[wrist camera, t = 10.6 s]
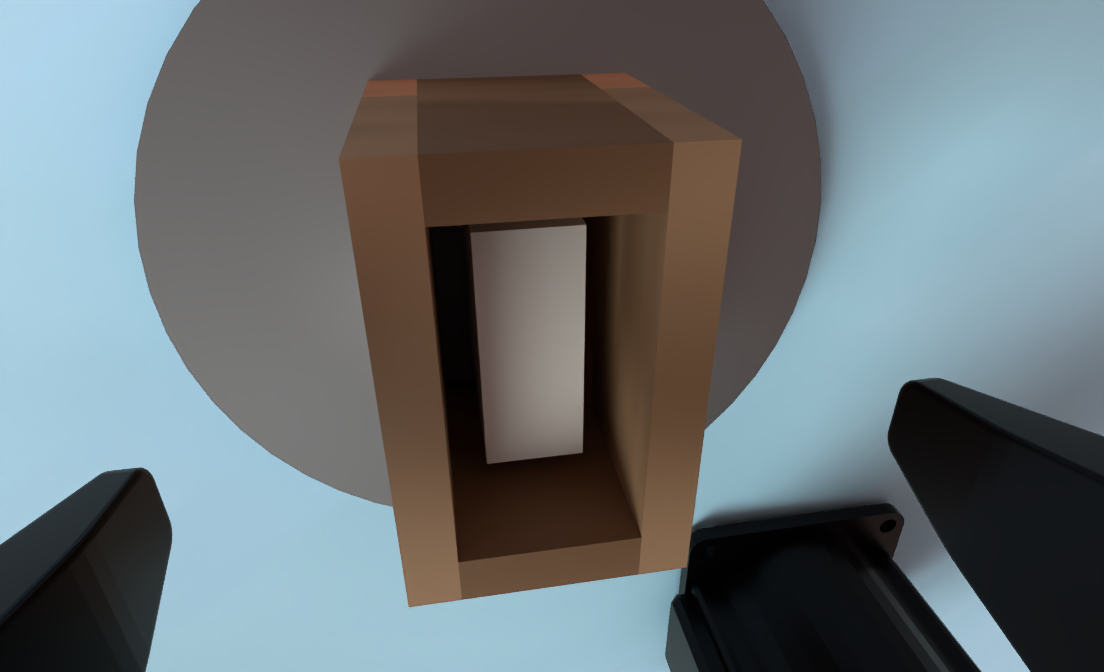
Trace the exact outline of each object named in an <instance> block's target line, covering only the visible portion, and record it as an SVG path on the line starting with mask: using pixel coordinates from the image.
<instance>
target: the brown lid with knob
mask: <svg viewBox="0 0 1104 672" xmlns="http://www.w3.org/2000/svg"><path fill="white" fill-rule="evenodd" d="M601 73H627V74H628V75H630V76H632V77H634V78H635V79H637V80H639V81H641V82H642V83H644V84H646V85H648V86H649V87H651V88H653V89H655V90H656V91H658V92H660V93H662V94H664V95H665V96H667V97H669V98H671V99H672V100H674V101H676V102H678V103H679V104H681V105H683V106H685V107H686V108H688V109H690V110H692V111H693V112H695V113H697V114H699V115H700V116H702V117H704V118H706V119H708V120H709V121H711V122H713V123H715V124H716V125H718V126H720V127H722V128H723V129H725V130H727V131H729V132H730V133H732V134H734V135H736V136H737V137H739V138H741V139H742V145H741V153H740V161H739V169H738V176H737V184H736V192H735V199H734V207H733V215H732V222H731V230H730V238H729V246H728V253H727V261H726V269H725V276H724V284H723V292H722V299H721V307H720V315H719V323H718V330H717V338H716V346H715V353H714V361H713V369H712V376H711V384H710V392H709V400H708V407H707V415H706V423H705V429H706V428H707V427H708V426H709V425H710V424H711V423H712V422H713V421H714V420H715V419H716V418H718V417H719V416H720V415H721V414H722V413H723V412H724V411H725V410H726V409H727V408H728V407H729V406H730V405H731V404H732V403H733V402H734V401H735V399H736V398H737V397H738V396H739V395H740V393H741V392H742V391H743V390H744V389H745V388H746V386H747V385H748V384H749V383H750V382H751V380H752V379H753V378H754V377H755V376H756V374H757V373H758V371H759V370H760V368H761V367H762V365H763V364H764V362H765V361H766V359H767V358H768V356H769V355H770V353H771V352H772V350H773V349H774V347H775V346H776V344H777V342H778V340H779V338H780V336H781V334H782V333H783V331H784V329H785V327H786V325H787V323H788V321H789V319H790V317H791V315H792V313H793V311H794V308H795V306H796V303H797V301H798V298H799V295H800V293H801V290H802V288H803V285H804V282H805V280H806V277H807V273H808V269H809V265H810V261H811V257H812V253H813V250H814V246H815V242H816V235H817V227H818V219H819V211H820V204H821V159H820V151H819V144H818V137H817V129H816V122H815V117H814V113H813V110H812V106H811V102H810V99H809V95H808V92H807V88H806V84H805V81H804V77H803V75H802V73H801V70H800V68H799V66H798V64H797V61H796V59H795V57H794V54H793V52H792V50H791V48H790V45H789V43H788V41H787V38H786V36H785V35H784V33H783V31H782V30H781V28H780V27H779V25H778V23H777V22H776V20H775V19H774V17H773V15H772V14H771V12H770V11H769V9H768V7H767V6H766V4H765V3H764V1H763V0H201V1H200V2H199V3H198V4H197V5H196V7H195V8H194V9H193V11H192V13H191V14H190V16H189V18H188V19H187V21H186V23H185V24H184V26H183V28H182V29H181V31H180V33H179V35H178V36H177V38H176V40H175V41H174V43H173V45H172V46H171V48H170V50H169V51H168V53H167V55H166V57H165V60H164V62H163V65H162V68H161V70H160V73H159V75H158V78H157V80H156V83H155V85H154V88H153V91H152V93H151V96H150V98H149V101H148V103H147V108H146V113H145V117H144V122H143V126H142V131H141V136H140V140H139V145H138V149H137V159H136V176H135V194H134V205H135V215H136V226H137V236H138V247H139V251H140V255H141V259H142V263H143V267H144V271H145V275H146V279H147V283H148V287H149V291H150V294H151V296H152V299H153V301H154V304H155V306H156V309H157V311H158V313H159V316H160V318H161V321H162V323H163V326H164V328H165V331H166V333H167V334H168V336H169V338H170V340H171V341H172V343H173V345H174V347H175V348H176V350H177V352H178V353H179V355H180V357H181V359H182V360H183V362H184V364H185V366H186V367H187V369H188V370H189V372H190V373H191V374H192V375H193V377H194V378H195V379H196V381H197V382H198V383H199V385H200V386H201V387H202V388H203V390H204V391H205V392H206V394H207V395H208V396H209V397H210V399H211V400H212V401H213V402H214V403H215V404H216V405H217V406H218V407H219V408H220V409H221V410H222V411H223V412H224V413H225V414H226V415H227V416H228V417H229V418H230V419H231V420H232V421H233V422H234V423H235V424H236V425H237V426H238V427H239V428H240V429H241V430H242V431H243V432H244V433H245V434H247V435H248V436H249V437H251V438H252V439H253V440H254V441H256V442H257V443H258V444H259V445H261V446H262V447H263V448H265V449H266V450H267V451H268V452H270V453H271V454H272V455H274V456H275V457H277V458H279V459H280V460H282V461H284V462H285V463H287V464H289V465H290V466H292V467H294V468H295V469H297V470H298V471H300V472H302V473H303V474H305V475H307V476H309V477H311V478H314V479H316V480H318V481H320V482H322V483H324V484H326V485H329V486H331V487H333V488H335V489H337V490H339V491H342V492H345V493H348V494H351V495H354V496H357V497H360V498H363V499H366V500H369V501H372V502H375V503H379V504H384V505H388V506H392V507H393V503H392V496H391V490H390V484H389V477H388V471H387V464H386V458H385V452H384V445H383V439H382V432H381V426H380V420H379V413H378V407H377V400H376V394H375V388H374V381H373V375H372V369H371V362H370V356H369V349H368V343H367V337H366V330H365V324H364V317H363V311H362V305H361V298H360V292H359V285H358V279H357V273H356V266H355V260H354V253H353V247H352V241H351V234H350V228H349V221H348V215H347V209H346V202H345V196H344V189H343V183H342V177H341V170H340V164H339V156H340V153H341V151H342V148H343V145H344V143H345V140H346V138H347V135H348V132H349V130H350V127H351V124H352V122H353V119H354V116H355V114H356V111H357V108H358V106H359V103H360V100H361V98H362V95H363V92H364V90H365V87H366V84H367V82H368V81H378V80H410V79H442V78H473V77H505V76H537V75H569V74H601ZM431 234H432V244H433V255H434V265H435V276H436V286H437V297H438V307H439V318H440V328H441V339H442V349H443V360H444V370H445V381H446V380H457V379H467V378H475V382H476V389H477V396H478V403H479V410H480V418H481V425H482V432H483V439H484V446H485V453H486V461H487V464H491V463H500V462H508V461H517V460H525V459H533V458H542V457H550V456H559V455H567V454H576V453H583V402H584V341H585V281H586V223H585V222H584V220H583V219H582V217H580V218H565V219H549V220H533V221H517V222H501V223H485V224H469V225H453V226H437V227H431Z"/></svg>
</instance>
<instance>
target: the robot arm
mask: <svg viewBox="0 0 1104 672" xmlns="http://www.w3.org/2000/svg"><path fill="white" fill-rule="evenodd" d="M888 444H889V448H890V451H891V453H892V455H893V456H894V458H895V460H896V462H897V464H898V465H899V467H900V469H901V471H902V472H903V474H904V476H905V478H906V480H907V481H908V483H909V485H910V487H911V488H912V490H913V492H914V494H915V496H916V497H917V499H918V501H919V503H920V504H921V506H922V508H923V510H924V512H925V513H926V515H927V517H928V519H929V521H930V522H931V524H932V526H933V528H934V529H935V531H936V533H937V535H938V536H939V538H940V540H941V541H942V543H943V545H944V547H945V548H946V550H947V552H948V553H949V555H950V556H951V558H952V559H953V561H954V562H955V564H956V565H957V567H958V568H959V570H960V571H961V573H962V574H963V576H964V577H965V578H966V580H967V581H968V583H969V584H970V586H971V587H972V588H973V590H974V591H975V593H976V594H977V596H978V597H979V599H980V600H981V601H982V603H983V604H984V606H985V607H986V609H987V610H988V611H989V613H990V614H991V616H992V617H993V619H994V620H995V622H996V623H997V624H998V626H999V627H1000V629H1001V630H1002V632H1003V633H1004V634H1005V636H1006V637H1007V639H1008V640H1009V642H1010V643H1011V644H1012V646H1013V647H1014V649H1015V650H1016V652H1017V653H1018V655H1019V656H1020V657H1021V659H1022V660H1023V662H1024V663H1025V665H1026V666H1027V667H1028V669H1029V670H1030V672H1104V436H1101V435H1098V434H1095V433H1092V432H1090V431H1087V430H1084V429H1081V428H1078V427H1076V426H1073V425H1070V424H1067V423H1064V422H1062V421H1059V420H1056V419H1053V418H1050V417H1048V416H1045V415H1042V414H1039V413H1036V412H1034V411H1031V410H1028V409H1025V408H1022V407H1020V406H1017V405H1014V404H1011V403H1009V402H1006V401H1003V400H1000V399H997V398H995V397H992V396H989V395H986V394H983V393H981V392H978V391H975V390H972V389H969V388H967V387H964V386H961V385H958V384H955V383H953V382H950V381H947V380H944V379H941V378H928V379H919V380H911V381H909V382H907V383H905V384H904V385H903V386H902V388H901V389H900V392H899V395H898V399H897V402H896V406H895V409H894V413H893V416H892V419H891V423H890V426H889V430H888ZM903 525H904V518H903V516H902V515H901V513H900V512H899V511H898V510H897V509H896V508H895V507H894V506H893V505H891V504H886V503H883V504H876V505H869V506H862V507H855V508H847V509H840V510H833V511H826V512H819V513H811V514H804V515H797V516H790V517H783V518H775V519H768V520H761V521H754V522H746V523H739V524H732V525H725V526H718V527H710V528H703V529H700V530H696V531H695V532H693V533H692V534H691V538H690V546H689V553H688V561H687V567H686V568H682V570H681V579H680V587H679V594H677V595H676V596H675V597H674V599H673V601H672V602H671V608H670V616H669V625H668V634H667V643H666V652H665V656H666V660H667V663H668V665H669V668H670V671H671V672H981V670H980V669H979V668H978V667H977V665H976V664H975V663H974V662H973V660H972V659H971V658H970V656H969V655H968V654H967V653H966V651H965V650H964V649H963V648H962V646H961V645H960V644H959V643H958V641H957V640H956V639H955V637H954V636H953V635H952V634H951V632H950V631H949V630H948V629H947V627H946V626H945V625H944V623H943V622H942V621H941V620H940V618H939V617H938V616H937V615H936V613H935V612H934V611H933V610H932V608H931V607H930V606H929V604H928V603H927V602H926V601H925V599H924V598H923V597H922V596H921V594H920V593H919V592H918V590H917V589H916V588H915V587H914V585H913V584H912V583H911V582H910V580H909V579H908V578H907V577H906V575H905V574H904V573H903V571H902V570H901V569H900V568H899V566H898V565H897V564H896V563H895V561H894V560H893V559H892V558H893V555H894V552H895V549H896V546H897V543H898V540H899V537H900V534H901V531H902V528H903ZM171 544H172V527H171V523H170V520H169V517H168V514H167V512H166V509H165V506H164V504H163V501H162V499H161V496H160V493H159V491H158V488H157V486H156V483H155V480H154V478H153V476H152V475H151V473H150V472H149V471H148V470H146V469H144V468H131V469H122V470H113V471H107V472H104V473H101V474H100V475H98V476H97V477H95V478H94V479H93V480H91V481H90V482H88V483H87V484H86V485H84V486H83V487H81V488H80V489H78V490H77V491H76V492H74V493H73V494H71V495H70V496H69V497H67V498H66V499H64V500H63V501H61V502H60V503H59V504H57V505H56V506H54V507H53V508H52V509H50V510H49V511H47V512H46V513H45V514H43V515H42V516H40V517H39V518H37V519H36V520H35V521H33V522H32V523H30V524H29V525H28V526H26V527H25V528H23V529H22V530H20V531H19V532H18V533H16V534H15V535H13V536H12V537H11V538H9V539H8V540H6V541H5V542H3V543H2V544H1V545H0V672H146V667H147V663H148V659H149V654H150V649H151V644H152V639H153V634H154V629H155V625H156V620H157V615H158V610H159V605H160V600H161V595H162V590H163V585H164V580H165V575H166V570H167V565H168V560H169V555H170V550H171ZM704 546H705V547H704ZM702 547H703V548H702Z"/></svg>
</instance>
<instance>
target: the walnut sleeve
mask: <svg viewBox="0 0 1104 672" xmlns="http://www.w3.org/2000/svg"><path fill="white" fill-rule="evenodd" d="M741 145H742V139H741V138H739V137H737V136H736V135H734V134H732V133H730V132H729V131H727V130H725V129H723V128H722V127H720V126H718V125H716V124H715V123H713V122H711V121H709V120H708V119H706V118H704V117H702V116H700V115H699V114H697V113H695V112H693V111H692V110H690V109H688V108H686V107H685V106H683V105H681V104H679V103H678V102H676V101H674V100H672V99H671V98H669V97H667V96H665V95H664V94H662V93H660V92H658V91H656V90H655V89H653V88H651V87H649V86H648V85H646V84H644V83H642V82H641V81H639V80H637V79H635V78H634V77H632V76H630V75H628V74H627V73H601V74H569V75H537V76H505V77H473V78H442V79H410V80H378V81H368V82H367V84H366V87H365V90H364V92H363V95H362V98H361V100H360V103H359V106H358V108H357V111H356V114H355V116H354V119H353V122H352V124H351V127H350V130H349V132H348V135H347V138H346V140H345V143H344V145H343V148H342V151H341V153H340V156H339V164H340V170H341V177H342V183H343V189H344V196H345V202H346V209H347V215H348V221H349V228H350V234H351V241H352V247H353V253H354V260H355V266H356V273H357V279H358V285H359V292H360V298H361V305H362V311H363V317H364V324H365V330H366V337H367V343H368V349H369V356H370V362H371V369H372V375H373V381H374V388H375V394H376V400H377V407H378V413H379V420H380V426H381V432H382V439H383V445H384V452H385V458H386V464H387V471H388V477H389V484H390V490H391V496H392V503H393V509H394V516H395V522H396V528H397V535H398V541H399V548H400V554H401V560H402V567H403V573H404V580H405V586H406V592H407V599H408V605H409V607H414V606H421V605H428V604H435V603H442V602H449V601H456V600H463V599H470V598H477V597H484V596H491V595H498V594H505V593H512V592H519V591H526V590H533V589H540V588H547V587H553V586H560V585H567V584H574V583H581V582H588V581H595V580H602V579H609V578H616V577H623V576H630V575H637V574H644V573H651V572H658V571H665V570H672V569H679V568H686V567H687V561H688V553H689V546H690V538H691V530H692V523H693V515H694V507H695V500H696V492H697V484H698V477H699V469H700V461H701V453H702V446H703V438H704V430H705V423H706V415H707V407H708V400H709V392H710V384H711V376H712V369H713V361H714V353H715V346H716V338H717V330H718V323H719V315H720V307H721V299H722V292H723V284H724V276H725V269H726V261H727V253H728V246H729V238H730V230H731V222H732V215H733V207H734V199H735V192H736V184H737V176H738V169H739V161H740V153H741ZM580 217H582V219H583V220H584V222H585V223H586V281H585V341H584V402H583V453H576V454H567V455H559V456H550V457H542V458H533V459H525V460H517V461H508V462H500V463H491V464H487V461H486V453H485V446H484V439H483V432H482V425H481V418H480V410H479V403H478V396H477V389H476V382H475V378H467V379H457V380H446V381H445V370H444V360H443V349H442V339H441V328H440V318H439V307H438V297H437V286H436V276H435V265H434V255H433V244H432V234H431V227H437V226H453V225H469V224H485V223H501V222H517V221H533V220H549V219H565V218H580Z"/></svg>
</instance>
